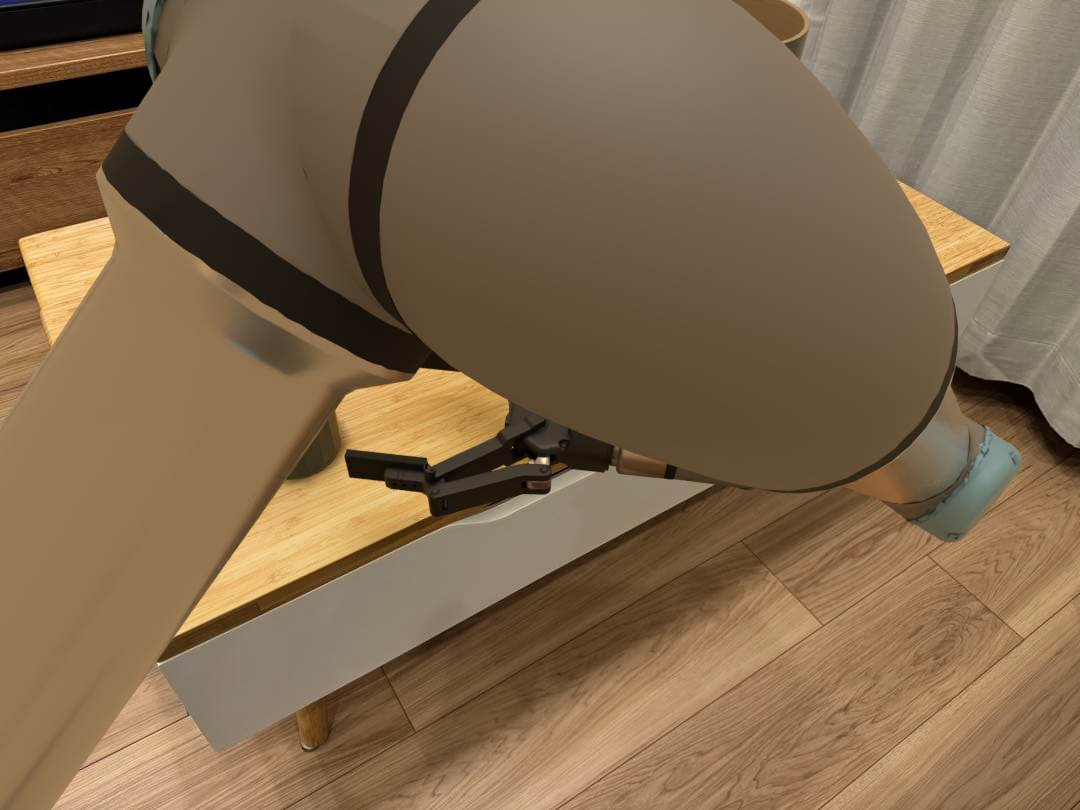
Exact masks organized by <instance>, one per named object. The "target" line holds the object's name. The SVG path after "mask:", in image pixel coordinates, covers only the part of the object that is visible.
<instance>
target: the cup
mask: <svg viewBox="0 0 1080 810" xmlns="http://www.w3.org/2000/svg"><path fill="white" fill-rule="evenodd" d="M341 447H342V436H341V429H340V425H339V420H338V416H337V411H336V410H335V411H334V413H333V414H332V416H331V417H330V418H329V420H328V421H327V423H326V424H325V425H324V427H323V428H322V430H321V431H320V432H319V434H318V435H317V437H316V438H315V439H314V441H313V442H312V444H311V445H310V446H309V448H308V449H307V451H306V452H305V454H304V455H303V456H302V458H301V459H300V461H299V462H298V463H297V465H296V466H295V468H294V469H293V470H292V472H291V473H290V475H289V476H288V477H287V479H286V480H285V481H289V480H293V481H294V480H300V479H301V480H302V479H305V478H308V477H312V476H314V475H316V474H318V473H320V472H322V471H324V470H325V469H326V468H328V466H330V465H331V464H332V463H333V462H334V461H335V460H336V458H337V457H338V455H339V452H340V451H341Z"/></svg>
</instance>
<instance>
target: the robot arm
mask: <svg viewBox="0 0 1080 810" xmlns="http://www.w3.org/2000/svg"><path fill="white" fill-rule="evenodd" d="M141 11H142V12H141V14H142V15H141V31H142V38H143V39H144V55H145V60H146V66H147V68H148V71H149V75H150V76H149V77H150V78H151V82H152V85H151V87H150V88H149V90H148V91H147V92H146V94H145V96H144V97H143V99H142V100H141V102H140V103H139V105H138V107H137V108H136V109H135V111H134V113H133V114H132V115H131V117H130V119H128V122H127V123H126V125H125V126H124V129H123V130H122V132H121V133H120V135H119V137H118V138H117V139H116V141H115V143H114V144H113V146H112V147H111V149H110V150H109V152H108V154H107V155H106V156H105V158H104V160H103V161H102V163H101V165H100V166H99V168H98V169H97V172H96V173H95V179H96V182H97V186H98V189H99V192H100V195H101V199H102V202H103V205H104V208H105V212H106V214H107V218H108V221H109V225H110V227H111V230H112V233H113V237H114V245H113V249H112V253H111V256H110V257H109V258H108V260H107V262H106V264H105V265H104V266H103V268H102V270H101V271H100V273H99V274H98V276H97V277H96V279H95V280H94V281H93V283H92V285H91V286H90V288H89V289H88V290H87V292H86V294H85V295H84V297H83V298H82V300H81V301H80V303H79V304H78V306H77V307H76V309H75V310H74V311H73V313H72V315H71V316H70V318H69V320H68V321H67V323H66V324H65V325H64V327H63V328H62V330H61V332H60V333H59V335H58V336H57V337H56V339H55V341H53V344H52V345H51V346H50V347H49V350H48V352H47V353H46V354H45V355H44V358H43V359H42V360H41V362H40V363H39V365H38V367H37V368H36V370H35V371H34V373H33V374H32V376H30V378H29V380H28V382H27V383H26V385H25V386H24V387H23V388H22V390H21V392H20V394H19V395H18V397H17V398H16V400H15V401H14V403H13V404H12V406H11V407H10V408H9V410H8V412H7V413H6V414H5V416H4V418H3V420H1V422H0V810H53V808H54V807H55V805H57V802H58V801H59V799H60V798H61V797H62V795H63V794H64V792H65V791H66V790H67V788H68V787H69V786H70V784H71V783H72V781H73V780H74V779H75V777H76V776H77V774H78V773H79V772H80V770H81V769H82V768H83V766H84V764H86V762H87V760H88V759H89V758H90V757H91V755H92V753H93V752H94V750H95V749H96V747H97V746H98V745H99V743H100V742H101V740H102V739H103V738H104V737H105V735H106V733H107V732H108V731H109V729H110V728H111V726H112V725H113V724H114V722H116V720H117V718H118V717H119V715H120V714H121V712H122V711H123V710H124V708H125V707H126V706H127V704H128V702H129V701H130V700H131V698H133V695H134V694H135V693H136V692H137V690H138V688H140V686H141V684H142V683H143V682H144V680H145V678H147V676H148V674H149V673H150V672H151V670H152V669H153V667H154V666H155V665H156V663H157V662H158V660H159V659H160V658H161V656H162V655H163V653H164V652H165V651H166V649H167V648H168V647H169V645H170V643H171V642H172V641H173V639H174V638H175V637H176V635H177V634H178V633H179V631H180V630H181V628H182V626H183V625H184V624H185V622H186V621H187V620H188V618H189V617H190V615H191V614H192V613H193V611H194V610H195V608H196V607H197V606H198V604H199V603H200V601H202V599H203V597H204V596H205V594H206V593H207V591H208V590H209V588H210V587H211V586H212V585H213V584H214V582H215V580H216V579H217V577H218V576H219V575H220V573H221V572H222V570H223V569H224V567H225V566H226V565H227V563H228V562H229V560H231V558H232V557H233V555H234V554H235V552H236V551H237V550H238V548H239V546H240V545H241V544H242V543H243V541H244V539H246V537H247V535H248V534H249V532H250V531H251V530H252V528H253V526H254V525H255V524H256V523H257V521H258V520H259V518H260V517H261V515H263V513H264V511H265V510H266V508H267V507H268V506H269V504H270V503H271V502H272V501H273V498H274V497H275V496H276V494H277V493H278V492H279V490H280V489H281V488H282V486H283V484H284V483H285V482H286V481H287V480H286V479H287V477H288V476H289V475H290V473H291V472H292V470H293V469H294V468H295V466H296V465H297V463H298V462H299V461H300V459H301V458H302V456H303V455H304V454H305V452H306V451H307V449H308V448H309V446H310V445H311V444H312V442H313V441H314V439H315V438H316V437H317V435H318V434H319V432H320V431H321V430H322V428H323V427H324V425H325V424H326V423H327V421H328V420H329V418H330V417H331V416H332V414H333V413H334V411H335V412H336V410H337V408H338V407H339V406H340V404H342V401H343V400H344V399H345V397H346V396H347V395H349V394H351V393H353V392H355V391H357V390H362V389H368V388H374V387H380V386H384V385H385V386H386V385H393V384H397V383H404V382H409V381H411V380H412V379H413V378H414V377H415V375H417V373H418V371H419V370H420V369H424V370H425V369H427V370H435V371H445V372H456V373H461V374H462V375H464V376H466V377H468V378H470V379H471V380H473V381H474V382H476V383H477V384H479V385H481V386H482V387H484V388H485V389H487V390H489V391H491V392H492V393H494V394H496V395H498V396H500V397H501V398H503V399H506V400H507V401H508V413H507V414H506V416H505V419H504V428H502V429H501V430H499V431H498V432H497V433H496V434H495V436H494V437H491V438H489V439H488V440H485V441H483V442H481V443H478V444H476V445H474V446H472V447H470V448H467V449H465V450H464V451H461V452H459V453H457V454H455V455H453V456H450V457H448V458H447V459H444V460H442V461H439V462H437V463H435V464H433V465H431V464H430V463H429V461H428V457H423V456H416V455H415V456H414V455H405V454H398V453H397V454H395V453H386V452H379V451H378V452H377V451H369V450H359V449H350V448H347V449H346V450H345V452H344V455H343V458H344V461H345V466H346V470H347V474H348V479H357V480H358V479H359V480H366V481H367V480H368V481H377V482H383V483H384V484H385V487H386V488H388V489H390V490H394V491H404V492H413V493H421V494H423V495H425V497H426V498H427V500H428V501H427V503H428V508H429V513H430V515H431V516H432V517H435V518H439V517H443V516H447V515H450V514H454V513H459V512H462V511H465V510H469V509H473V508H478V507H481V506H484V505H488V504H491V503H496V502H498V501H503V500H507V499H510V498H511V499H512V498H515V497H518V496H521V495H536V496H537V495H539V496H545V495H548V494H550V492H551V490H552V474H553V469H552V467H551V465H554V464H563V465H566V466H567V468H569V469H570V470H575V471H583V472H592V473H593V472H594V473H600V474H601V473H602V474H605V472H608V471H609V470H610V467H615V471H616V473H617V475H622V476H623V475H624V476H633V477H634V476H635V477H643V478H653V479H661V480H662V479H664V480H669V481H671V480H675V481H676V480H677V481H684V482H692V483H698V484H699V483H701V484H707V485H715V486H723V487H724V486H725V487H731V488H736V489H737V488H738V489H740V490H743V491H752V490H753V491H754V490H761V491H766V492H770V493H771V492H772V493H778V494H796V495H797V494H814V493H820V492H824V491H830V490H836V489H838V488H841V487H842V488H845V489H847V490H851V491H853V492H856V493H859V494H862V495H864V496H867V497H870V498H872V499H874V500H877V501H880V502H881V503H882V504H885V505H886V506H887V507H889V508H890V509H891V510H893V511H894V512H895V513H897V514H899V515H900V516H901V517H902V518H903V519H904V520H905V521H906V522H907V523H909V524H911V526H917V527H918V528H919V529H921V530H922V531H924V532H927V534H929V535H931V536H933V537H935V538H936V539H937V540H939V541H941V542H943V543H944V542H945V543H957V542H959V541H962V540H963V539H964V538H965V537H966V536H967V535H968V534H969V533H971V531H972V530H973V529H974V528H975V527H976V526H977V525H978V524H979V523H980V521H981V520H982V519H983V518H984V517H985V515H986V514H987V513H988V512H989V511H990V510H991V508H992V507H993V506H994V504H996V502H997V501H998V500H999V498H1000V497H1001V496H1002V495H1003V493H1004V492H1006V491H1005V490H1007V488H1008V487H1009V485H1010V484H1011V483H1012V481H1013V480H1014V479H1015V477H1016V475H1018V473H1019V471H1020V469H1021V466H1022V463H1023V459H1022V455H1021V452H1020V451H1019V450H1018V448H1016V447H1015V446H1013V445H1012V444H1010V443H1009V442H1008V441H1007V440H1004V439H1003V438H1001V437H1000V436H998V435H997V434H995V433H994V432H993V431H992V429H991V427H989V426H987V425H985V424H981V423H979V422H976V421H974V420H972V419H971V418H969V417H967V416H966V415H964V414H963V412H962V409H961V406H960V404H959V403H958V400H957V398H956V396H955V392H954V391H953V389H952V386H951V385H952V382H953V378H954V374H955V370H956V366H957V362H958V351H959V321H958V315H957V310H956V304H955V301H954V297H953V295H952V291H951V290H952V289H951V285H950V281H949V280H948V277H947V274H946V272H945V270H944V267H943V264H942V263H941V261H940V258H939V256H938V253H937V250H936V249H935V247H934V244H933V242H932V239H931V237H930V234H929V231H928V230H927V227H926V226H925V224H924V223H923V221H922V219H921V217H920V216H919V214H918V213H917V211H916V210H915V207H914V206H913V204H912V203H911V201H910V200H909V198H908V195H906V192H905V191H904V190H903V188H902V186H901V184H900V183H899V181H898V180H897V178H896V177H895V176H894V175H893V173H892V171H891V170H890V169H889V168H888V165H886V163H885V162H884V160H883V159H882V157H881V156H880V154H879V153H878V152H877V150H876V149H875V147H874V146H873V145H872V143H871V142H870V141H869V139H868V138H867V137H866V136H865V134H864V133H863V132H862V131H861V129H860V128H859V127H858V126H857V124H856V123H855V122H854V120H853V119H852V118H851V116H849V115H848V113H847V112H846V111H845V109H844V108H843V107H842V106H841V105H840V103H839V102H838V101H837V100H836V98H835V97H834V96H833V94H832V93H831V92H830V91H829V90H828V88H827V87H826V86H825V85H824V84H823V83H822V82H821V81H820V80H819V78H818V77H816V75H815V74H814V73H813V72H811V70H810V69H809V68H808V67H807V66H806V65H805V64H804V63H803V62H802V60H801V61H800V60H799V59H798V58H797V57H796V56H795V55H794V54H793V53H792V52H791V50H790V49H789V48H788V47H787V46H786V45H785V44H784V43H783V42H782V41H780V40H779V39H778V38H777V37H776V36H775V35H774V34H772V33H771V32H770V31H769V30H768V29H767V28H765V27H764V26H763V25H762V24H761V23H760V22H759V21H757V20H756V19H755V18H754V17H753V16H752V15H750V14H749V13H748V12H747V11H746V10H745V9H744V8H742V7H741V6H739V5H738V4H736V3H735V2H733V1H732V0H143V4H142V10H141ZM525 459H528V461H527V463H519V462H521V461H523V460H525ZM517 463H519V464H517ZM503 466H504V467H503ZM500 467H502V468H500Z"/></svg>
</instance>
